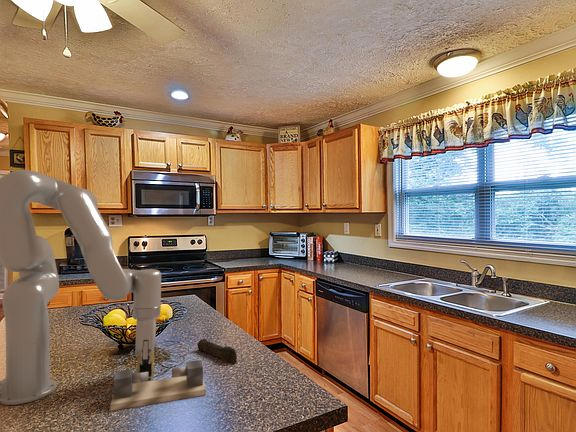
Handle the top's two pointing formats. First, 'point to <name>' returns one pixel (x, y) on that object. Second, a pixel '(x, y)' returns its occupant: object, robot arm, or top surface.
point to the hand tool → (218, 350)
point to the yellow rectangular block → (140, 362)
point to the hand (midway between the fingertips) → (145, 373)
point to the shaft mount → (157, 386)
